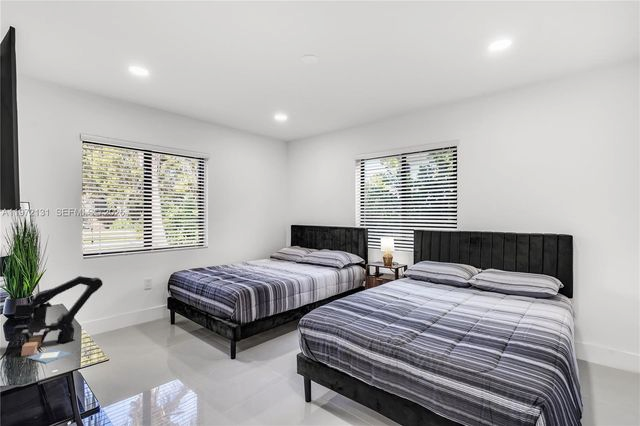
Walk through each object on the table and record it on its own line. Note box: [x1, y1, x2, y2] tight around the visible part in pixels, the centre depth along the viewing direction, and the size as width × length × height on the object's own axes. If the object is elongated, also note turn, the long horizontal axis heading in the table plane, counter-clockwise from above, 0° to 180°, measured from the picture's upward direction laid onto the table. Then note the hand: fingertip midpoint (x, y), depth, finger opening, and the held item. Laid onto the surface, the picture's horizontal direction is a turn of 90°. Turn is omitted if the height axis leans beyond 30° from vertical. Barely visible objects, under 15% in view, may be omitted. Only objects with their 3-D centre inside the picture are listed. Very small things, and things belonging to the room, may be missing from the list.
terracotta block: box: [20, 342, 38, 357], centre depth 162 cm, size 5×5×5 cm
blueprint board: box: [26, 348, 72, 364], centre depth 161 cm, size 12×13×1 cm
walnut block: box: [29, 333, 43, 348], centre depth 172 cm, size 5×5×5 cm
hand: (35, 343), depth 172 cm, fingers closed on walnut block, 5 cm apart
